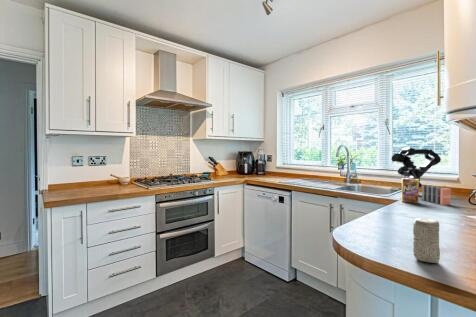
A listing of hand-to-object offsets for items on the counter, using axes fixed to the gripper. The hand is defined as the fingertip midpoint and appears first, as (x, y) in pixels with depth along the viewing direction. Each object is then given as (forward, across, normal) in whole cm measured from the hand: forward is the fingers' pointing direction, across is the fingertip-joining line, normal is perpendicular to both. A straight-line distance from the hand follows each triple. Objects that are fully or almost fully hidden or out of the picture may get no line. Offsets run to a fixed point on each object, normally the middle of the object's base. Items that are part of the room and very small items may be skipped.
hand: (417, 179), depth 176 cm
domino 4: (+24, 0, +5) cm, 24 cm away
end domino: (+26, 0, +7) cm, 27 cm away
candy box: (+20, +16, +1) cm, 26 cm away
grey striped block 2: (+18, 0, -1) cm, 18 cm away
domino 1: (+15, 0, -4) cm, 16 cm away
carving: (+83, +73, +64) cm, 128 cm away
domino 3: (+21, 0, +2) cm, 21 cm away
